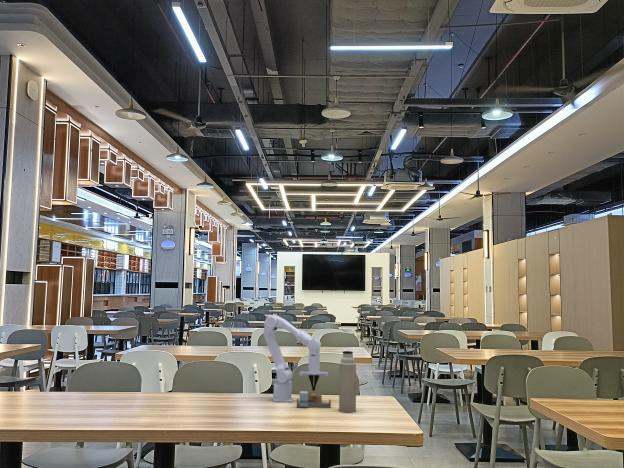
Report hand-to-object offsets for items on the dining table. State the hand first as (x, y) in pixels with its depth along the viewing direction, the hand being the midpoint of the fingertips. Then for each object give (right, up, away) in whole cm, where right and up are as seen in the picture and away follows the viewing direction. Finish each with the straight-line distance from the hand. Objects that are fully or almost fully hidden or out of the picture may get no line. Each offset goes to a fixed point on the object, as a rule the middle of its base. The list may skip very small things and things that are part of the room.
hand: (313, 390), depth 287 cm
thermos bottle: (+16, -5, -20) cm, 26 cm away
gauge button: (0, -5, -1) cm, 5 cm away
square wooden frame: (0, -6, -1) cm, 6 cm away
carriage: (-5, -5, -12) cm, 13 cm away
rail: (0, -5, -12) cm, 13 cm away
